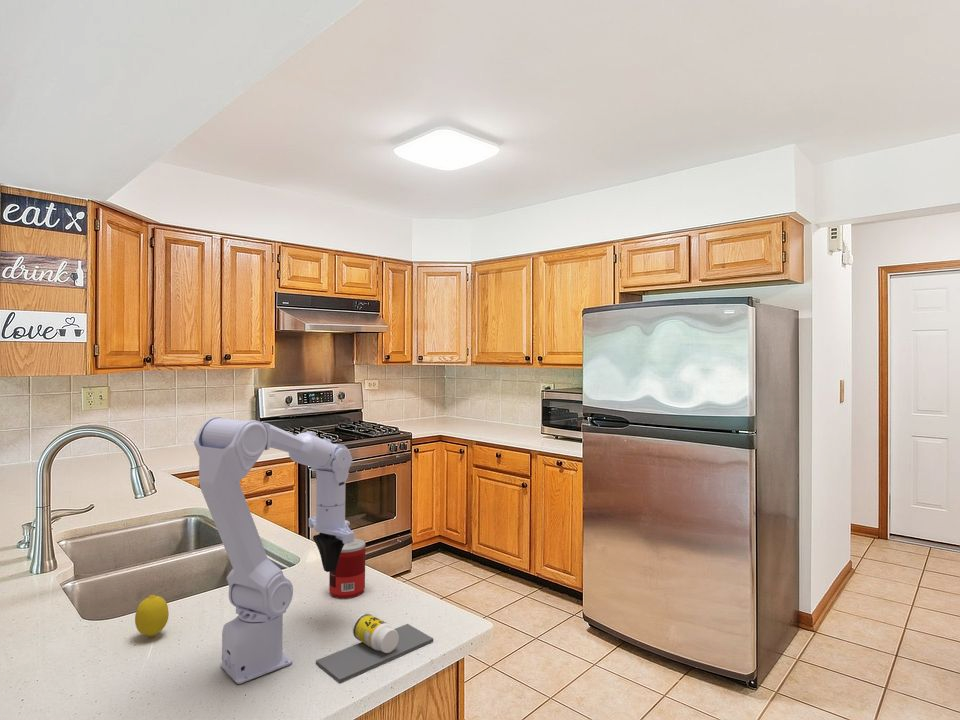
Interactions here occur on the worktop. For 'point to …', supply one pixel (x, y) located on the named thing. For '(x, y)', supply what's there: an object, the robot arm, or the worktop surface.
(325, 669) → the mat
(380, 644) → the supplement bottle
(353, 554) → the canned food
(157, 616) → the lemon
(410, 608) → the worktop surface
